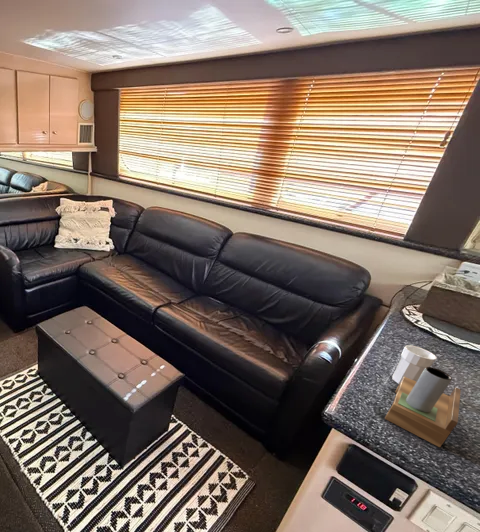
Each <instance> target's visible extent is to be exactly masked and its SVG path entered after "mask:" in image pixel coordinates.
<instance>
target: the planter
mask: <svg viewBox="0 0 480 532" xmlns="http://www.w3.org/2000/svg"><path fill="white" fill-rule="evenodd" d="M452 380H453V377H452V376H451V374H449V373H447V372H446V371H444V370H441V369H439V368H436V367H432V366H431V367H426V368H425V369H424V371H423V372H422V374H421V376H420V377H419V379H418V381H417V382H416V384H415V385H414V387H413V389H412V390H411V392H410V394H409V395H408V397H407V399H406V402H407V403H408V404H409V405H410V406H412V407H413V408H415V409H417V410H419V411H422V412H430V411H431V410H432V409H433V407H434V406H435V404H436V403H437V401H438V400H439V398H440V397H441V395H442V394H444V392H445V390H446V389H447V388H448V386H449V385H450V383H451V382H452Z"/></svg>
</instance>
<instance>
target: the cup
mask: <svg viewBox="0 0 480 532" xmlns="http://www.w3.org/2000/svg"><path fill="white" fill-rule="evenodd" d="M400 356H401V357H400V359H399V362H398V363H397V366H396V368H395V370H394V372H393V374H392V375H391V379H392V381H394V382H395V383H397V384H398V385H399V384H400V382H401V381H402V379H403V377H407V378H409V379H411V380H414V381H416V382H417V381H418V379H419V377H420V376H421V374H422V372H423V371H424V369H425V368H426V367H432V366H433V364H434V363H435V361H436V360H437V358H438V357H437V356H436V355H435V354H434V353H433V352H431V351H428V350H427V349H425V348H422V347H419V346H416V345H410V344H407V345H405V346H404V348H403V350H402V352H401V354H400Z"/></svg>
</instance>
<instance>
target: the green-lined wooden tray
mask: <svg viewBox="0 0 480 532" xmlns="http://www.w3.org/2000/svg"><path fill="white" fill-rule="evenodd" d="M415 384H416V381H414V380H411V379H409V378H407V377H403V379H402V381H401V382H400V384H398V385H397V387H396V390H395V391H394V393H395V394H396V395H395V396H394V399H393V402H392V404H391V407H389V409H388V411H387V413H386V415H385V416H384V420H386V421H388V422H390V423H392V424H394V425H396V426H397V427H399V428H402V429H403V430H405V431H407V432H409V433H411V434H413V435H415V436H417V437H418V438H421V439H423V440H424V441H427V442H429V443H430V444H432V445H434V446H436V447H438V448H441V447H442V445H443V444H444V443H445V441H446V440H447V438H448V437H449V436H450V434H451V433H452V431H453V430H454V429H455V427H456V426H457V425H458V424H459V416H460V415H459V414H460V403H461V392H462V390H461V388H458V387H454V388H453V390H452V391H451V393H450V395H448V394H445V393H443V394H442V395H441V397H440V398H439V400H438V401H437V403H436V404H435V406H434V407H433V409H432V410H431V411H430V412H422V411H419V410H417V409H415V408H413V407H412V406H410V405H409V404H408V403H407V402H406V399H407V397H408V395H409V394H410V392H411V390H412V389H413V387H414V385H415Z"/></svg>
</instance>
